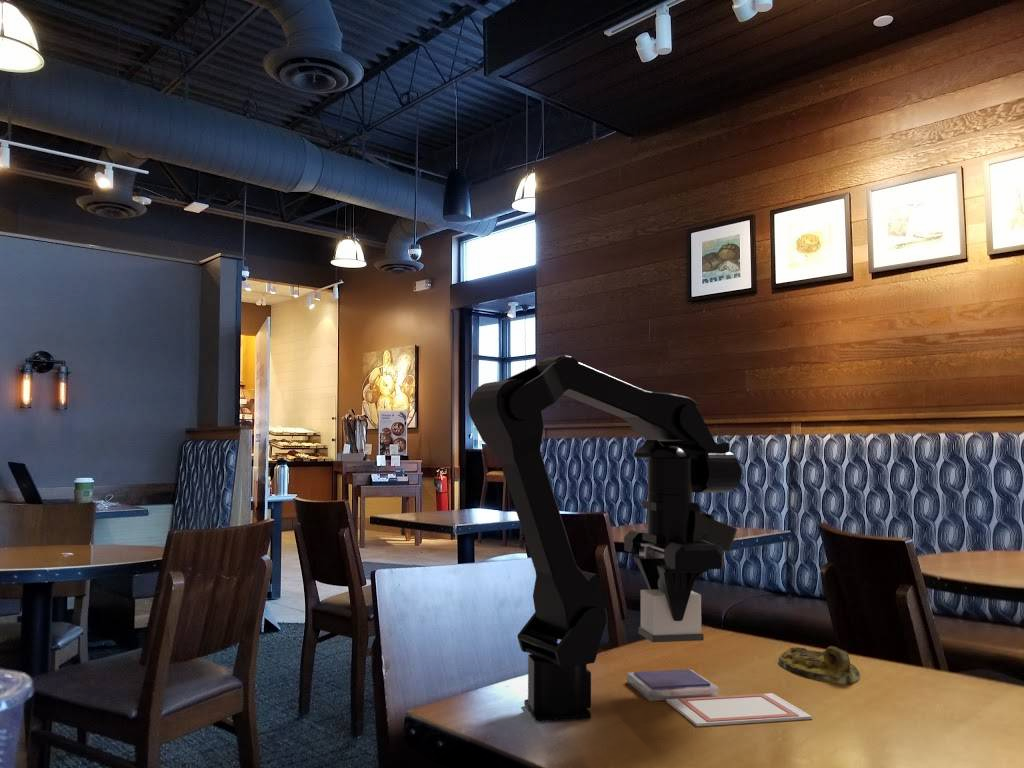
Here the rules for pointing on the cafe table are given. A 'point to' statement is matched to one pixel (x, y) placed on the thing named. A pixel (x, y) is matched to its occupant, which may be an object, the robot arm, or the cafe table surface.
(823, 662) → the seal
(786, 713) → the sheet
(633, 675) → the ink pad
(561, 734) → the cafe table surface
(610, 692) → the cafe table surface
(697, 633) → the stamp
